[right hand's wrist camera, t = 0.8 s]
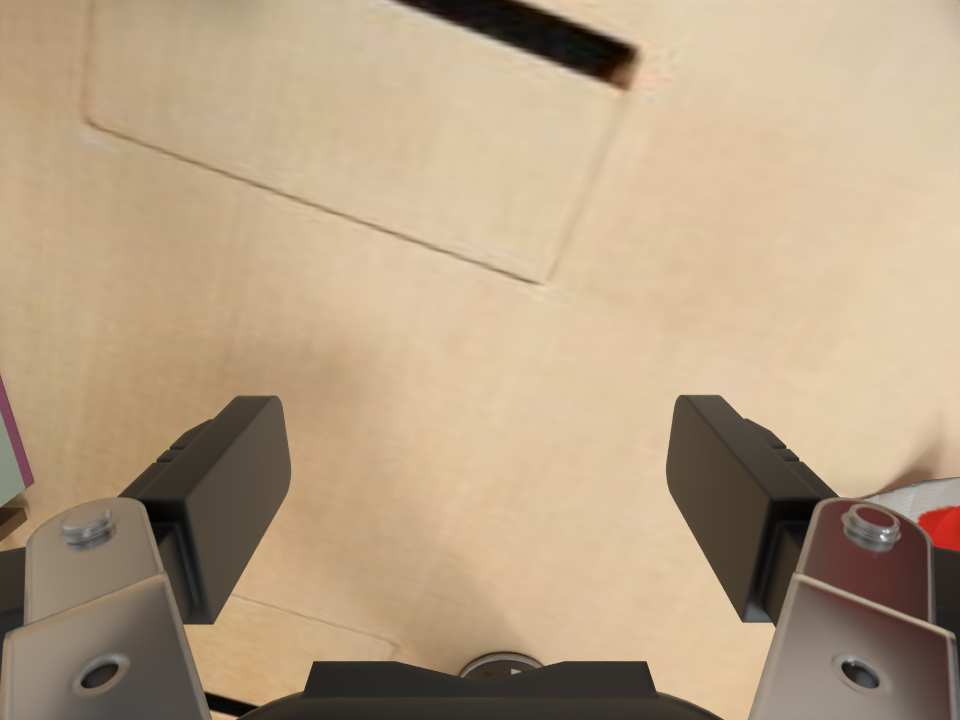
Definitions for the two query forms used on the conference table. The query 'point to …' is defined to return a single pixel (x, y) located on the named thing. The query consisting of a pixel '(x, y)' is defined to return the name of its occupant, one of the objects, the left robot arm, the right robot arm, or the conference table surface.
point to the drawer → (10, 520)
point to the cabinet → (11, 455)
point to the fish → (929, 508)
